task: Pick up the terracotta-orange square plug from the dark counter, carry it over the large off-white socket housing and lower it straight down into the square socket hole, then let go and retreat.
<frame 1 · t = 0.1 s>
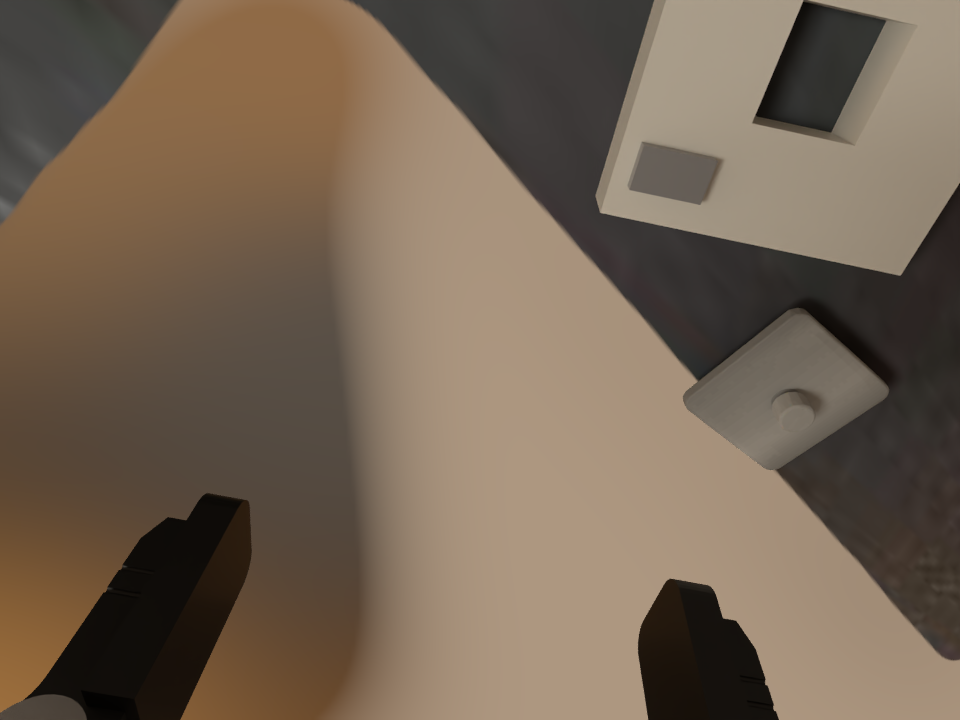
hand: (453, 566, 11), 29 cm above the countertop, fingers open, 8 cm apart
light switch: (771, 374, 43), on the countertop
socket: (807, 68, 32), on the countertop
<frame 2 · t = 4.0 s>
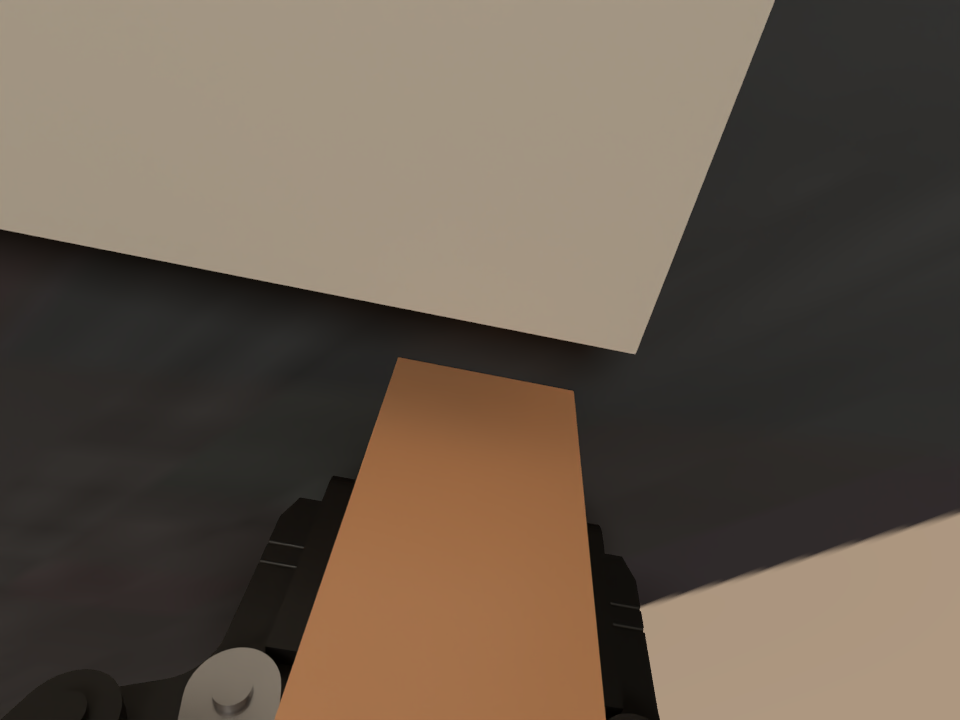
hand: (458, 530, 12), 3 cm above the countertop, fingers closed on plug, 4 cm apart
plug: (471, 440, 15), on the countertop, touching gripper
when the fingers open (4 cm above the countertop, at t = 9.8 s): plug stays where it is, resting in socket.
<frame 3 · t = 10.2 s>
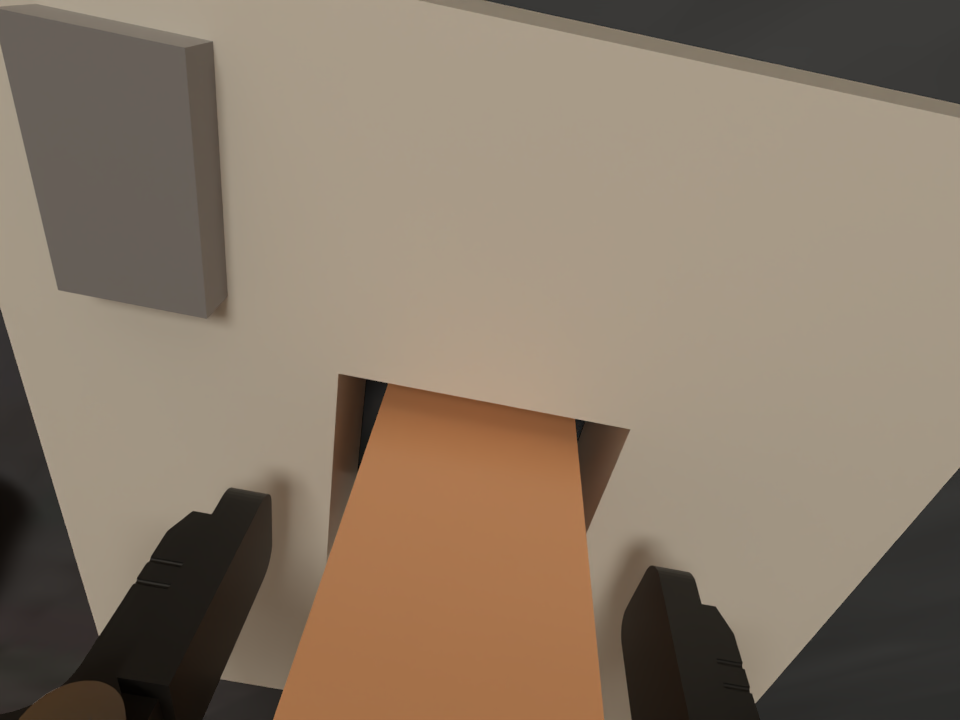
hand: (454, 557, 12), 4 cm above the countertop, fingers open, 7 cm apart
plug: (473, 415, 15), resting in socket
socket: (473, 415, 15), on the countertop
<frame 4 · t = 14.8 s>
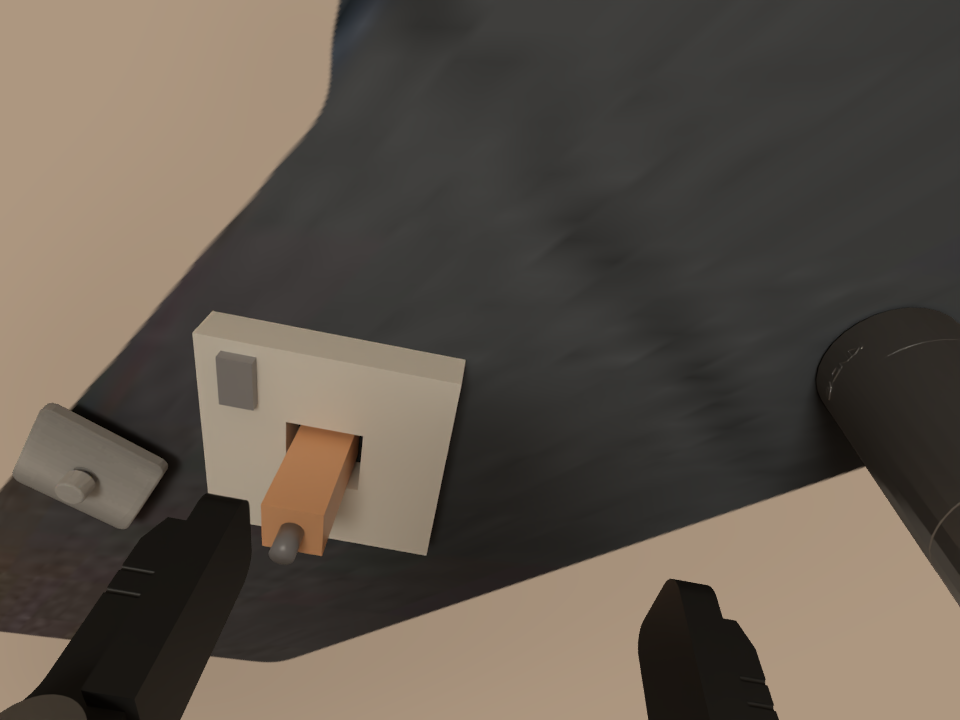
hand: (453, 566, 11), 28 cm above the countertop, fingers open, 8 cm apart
light switch: (108, 449, 51), on the countertop
plug: (334, 431, 47), resting in socket
socket: (334, 431, 47), on the countertop
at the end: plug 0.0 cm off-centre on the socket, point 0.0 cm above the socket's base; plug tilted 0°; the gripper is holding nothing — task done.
